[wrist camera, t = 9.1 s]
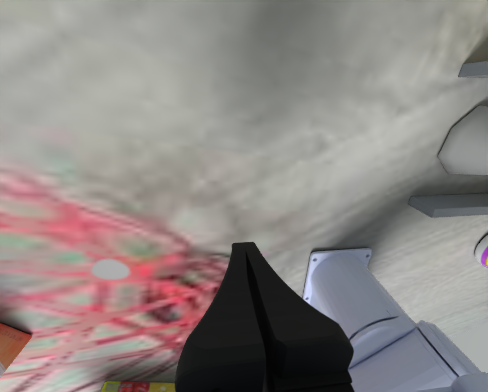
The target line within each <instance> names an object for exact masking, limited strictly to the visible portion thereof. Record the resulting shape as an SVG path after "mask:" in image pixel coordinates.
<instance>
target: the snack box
mask: <svg viewBox="0 0 488 392" xmlns="http://www.w3.org/2000/svg"><path fill="white" fill-rule="evenodd" d="M101 392H175V383H162V382H125V381H106V382H105V383H104V385H103V387H102V389H101Z"/></svg>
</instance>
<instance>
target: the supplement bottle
mask: <svg viewBox="0 0 488 392" xmlns="http://www.w3.org/2000/svg"><path fill="white" fill-rule="evenodd" d="M475 258H476V260H477V261H478V262H479V263H480V264H482V265H483V266H485V267H487V268H488V235H487V236H486V237H485V238H484V239H483V240H482V241H481V242H480V243H479V244H478V246H477V248H476V250H475Z"/></svg>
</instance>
